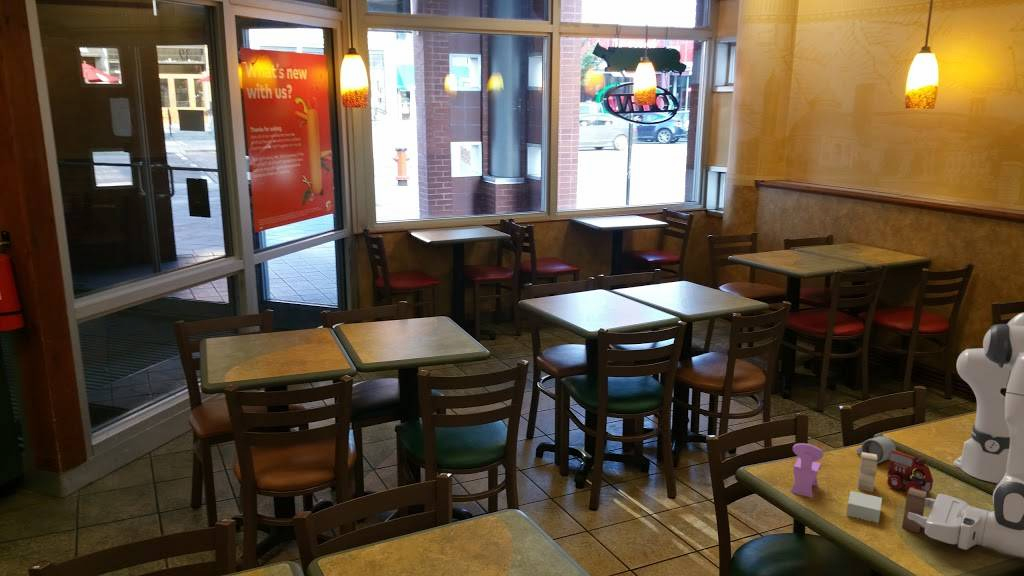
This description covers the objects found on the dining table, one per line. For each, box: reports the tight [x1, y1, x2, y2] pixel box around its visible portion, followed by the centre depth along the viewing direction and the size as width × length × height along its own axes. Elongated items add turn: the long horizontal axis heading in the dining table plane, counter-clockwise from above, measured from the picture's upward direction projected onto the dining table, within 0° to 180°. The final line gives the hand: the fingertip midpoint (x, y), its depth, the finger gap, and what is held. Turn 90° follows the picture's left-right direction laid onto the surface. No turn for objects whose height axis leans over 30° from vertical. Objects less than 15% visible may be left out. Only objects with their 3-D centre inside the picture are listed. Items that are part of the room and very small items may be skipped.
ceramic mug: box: [855, 436, 897, 465], centre depth 245 cm, size 11×8×8 cm
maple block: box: [857, 452, 878, 493], centre depth 225 cm, size 4×4×10 cm
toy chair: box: [789, 442, 824, 499], centre depth 223 cm, size 8×9×15 cm
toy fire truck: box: [886, 450, 934, 494], centre depth 225 cm, size 7×12×10 cm, turn 44°
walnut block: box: [901, 488, 928, 533], centre depth 204 cm, size 4×4×10 cm
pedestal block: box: [846, 490, 883, 524], centre depth 211 cm, size 8×8×4 cm
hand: (911, 507), depth 204 cm, fingers open, 8 cm apart
